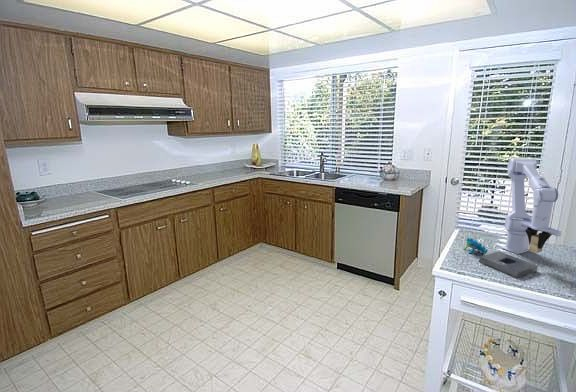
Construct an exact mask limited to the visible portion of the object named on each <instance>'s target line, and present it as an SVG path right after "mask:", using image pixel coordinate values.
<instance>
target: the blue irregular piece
mask: <svg viewBox="0 0 576 392" xmlns="http://www.w3.org/2000/svg"><path fill="white" fill-rule="evenodd" d="M465 243H466V244H465V245H466V246H465V247H464V248H463V250H465V251H466V249H468V248H471V250H470V251H469V252H468V253H469V254H472V253H474V251H475V250H477V251H480V252H481V253H482V254H483V253H484V254H487V252H488V249H487V248H486V247H485V246H482V243H480V242H479V243H478V241H477V240H476V239H473V238H470V237H467V238H466V241H465Z"/></svg>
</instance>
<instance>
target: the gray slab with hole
mask: <svg viewBox="0 0 576 392" xmlns="http://www.w3.org/2000/svg"><path fill="white" fill-rule="evenodd" d="M478 262H479V263H481V264H484V265H486V266H488V267H491V268H492V269H495V270H497V271H500V272H503V273H505V274H507V275H508V276H512V277H514V278H516V279H517V278H518V279H519V278H521V277H524V276H526V275H529V274H533V273H536V272H537V271H538V268H539V265H536V264H533V263H532V262H528V261H526V260H523V259H521V258H517V257H516V256H513V255H509V254H507V253H504V252H503V251H495V252H491V253H489V254H485V255H481V256H480V255H479V260H478Z"/></svg>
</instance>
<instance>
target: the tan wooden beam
mask: <svg viewBox="0 0 576 392" xmlns="http://www.w3.org/2000/svg"><path fill="white" fill-rule="evenodd" d="M538 242H539V233H537V234H536V235H532V236H531V242H530V246H529V248H528V249H529V251H528V252H531V253H534V254H538V253H541V252H542V251H543V248H541V249H538Z"/></svg>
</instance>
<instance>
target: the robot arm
mask: <svg viewBox="0 0 576 392" xmlns="http://www.w3.org/2000/svg"><path fill="white" fill-rule="evenodd" d="M537 167H538V162H537V160H536V159H535V158H510V159H509V161H508V162H507V177H509V178H510V181H511V207H512V210H511V211H512V212H511V213H509V214H507V215H506V216H505V220H504V229H505V230H506V232H507V236H506V243H505V246H504V245H503V246H501V249H503V250H506V251H509V252H511V253H514V254H517V255H519V254H523V253H526V252H530V251H529V247H530V242H531V236H532V235H536V234H539V242H538V249H541V248H542V249H543V247H544V245H545V244H546V242H547V241H548V240H549V238H550V237H551V236H555V237H556V238H557V237H561V236H562V231H561V230H558V229H555V228H552V227H550V222H551V221H550V220H551V216H552V211H553V206H554V203H556V202H557V201H558V198H559V191H558V188H556V187H553V186H551V185H550V184H549V183H548V181H547V180H546V178H545V177H544V176H541V175H540V174H539V173H538V170H537ZM525 179H528V180H529V181H528V186H529V187H530V188H531V190H532V191H533V194H532V196H533V197H532V198H533V201H532V202H533V206H534V207H533V212H532V216H531V215H529V214H528V213H527V212H526V199H525V197H526V195H525ZM538 232H539V233H538Z"/></svg>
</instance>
